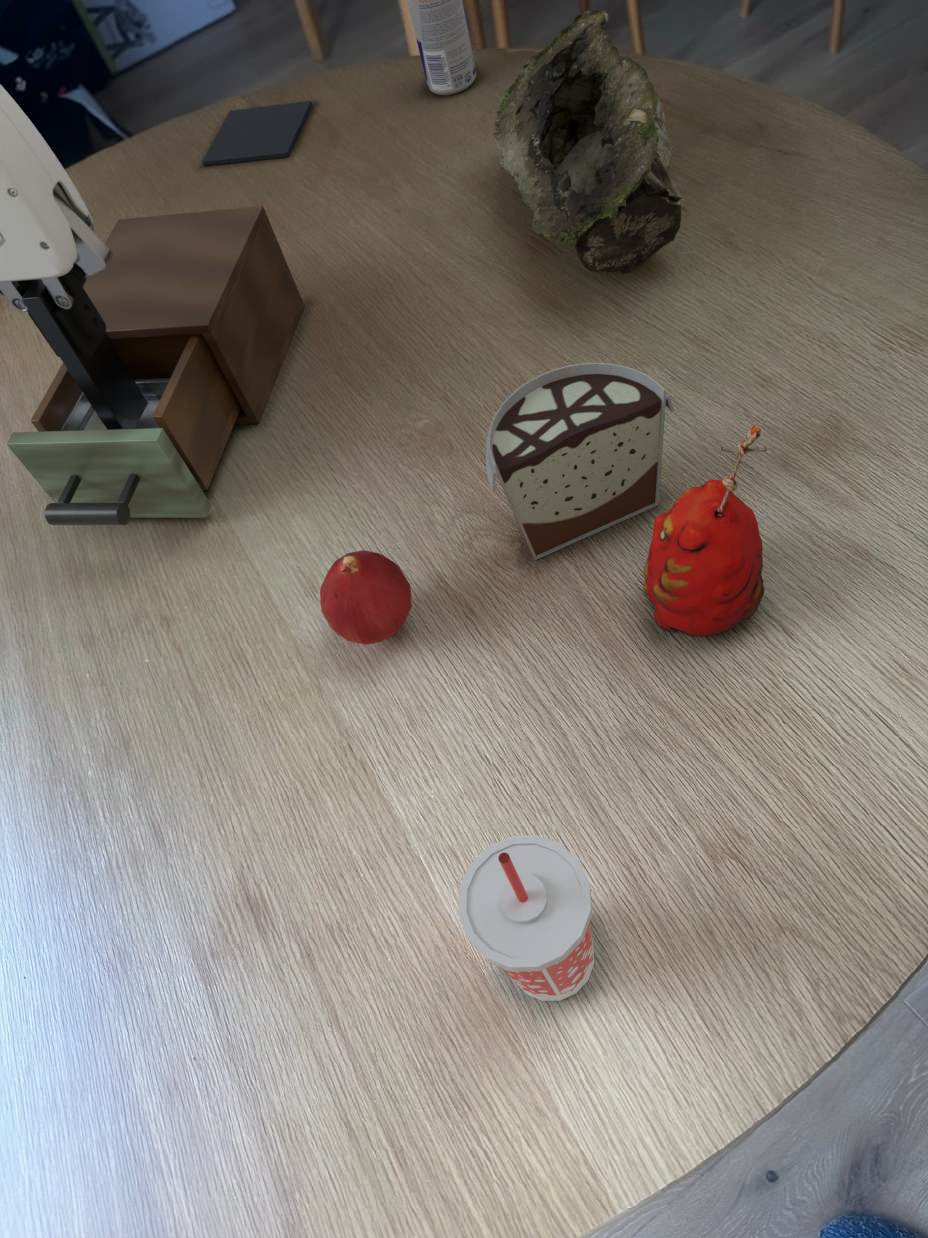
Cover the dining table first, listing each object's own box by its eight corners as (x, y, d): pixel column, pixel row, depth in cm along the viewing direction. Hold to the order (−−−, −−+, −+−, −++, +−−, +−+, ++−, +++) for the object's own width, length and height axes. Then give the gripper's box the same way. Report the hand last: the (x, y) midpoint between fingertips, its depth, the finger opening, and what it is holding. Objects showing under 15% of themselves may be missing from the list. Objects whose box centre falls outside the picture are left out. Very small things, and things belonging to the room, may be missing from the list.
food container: (637, 440, 71) (626, 329, 63) (678, 496, 67) (673, 385, 59) (481, 509, 70) (450, 406, 62) (514, 569, 67) (486, 468, 59)
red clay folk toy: (667, 543, 65) (656, 370, 53) (776, 562, 62) (790, 385, 50) (634, 637, 62) (613, 474, 50) (748, 661, 59) (755, 496, 47)
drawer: (189, 563, 72) (135, 487, 65) (45, 561, 75) (-21, 489, 69) (257, 391, 82) (216, 310, 75) (127, 396, 85) (76, 319, 78)
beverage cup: (594, 887, 53) (560, 774, 42) (622, 1003, 50) (594, 913, 38) (484, 912, 54) (422, 807, 42) (504, 1029, 50) (442, 948, 39)
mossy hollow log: (643, 355, 82) (777, 213, 72) (518, 294, 76) (645, 130, 66) (593, 164, 98) (697, 25, 88) (485, 101, 92) (584, -56, 82)
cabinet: (259, 423, 81) (207, 324, 73) (114, 427, 84) (50, 334, 76) (305, 306, 88) (263, 205, 80) (171, 314, 92) (118, 218, 84)
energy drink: (455, 64, 108) (429, -58, 98) (487, 76, 105) (463, -48, 95) (418, 88, 106) (388, -33, 97) (449, 101, 103) (421, -23, 94)
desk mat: (204, 166, 107) (202, 161, 106) (231, 114, 112) (229, 110, 112) (288, 156, 104) (286, 152, 104) (312, 104, 109) (311, 100, 109)
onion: (327, 621, 67) (286, 549, 61) (401, 581, 68) (368, 505, 62) (361, 681, 64) (320, 611, 58) (438, 638, 65) (407, 564, 58)
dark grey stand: (68, 454, 75) (-35, 310, 65) (98, 400, 79) (5, 255, 68) (172, 452, 73) (82, 304, 63) (199, 397, 76) (118, 247, 66)
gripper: (-230, 137, 55) (-31, 384, 70) (4, 108, 51) (163, 376, 66) (-162, 65, 59) (13, 313, 74) (60, 33, 55) (198, 302, 70)
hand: (83, 342), depth 70 cm, fingers closed on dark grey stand, 1 cm apart
